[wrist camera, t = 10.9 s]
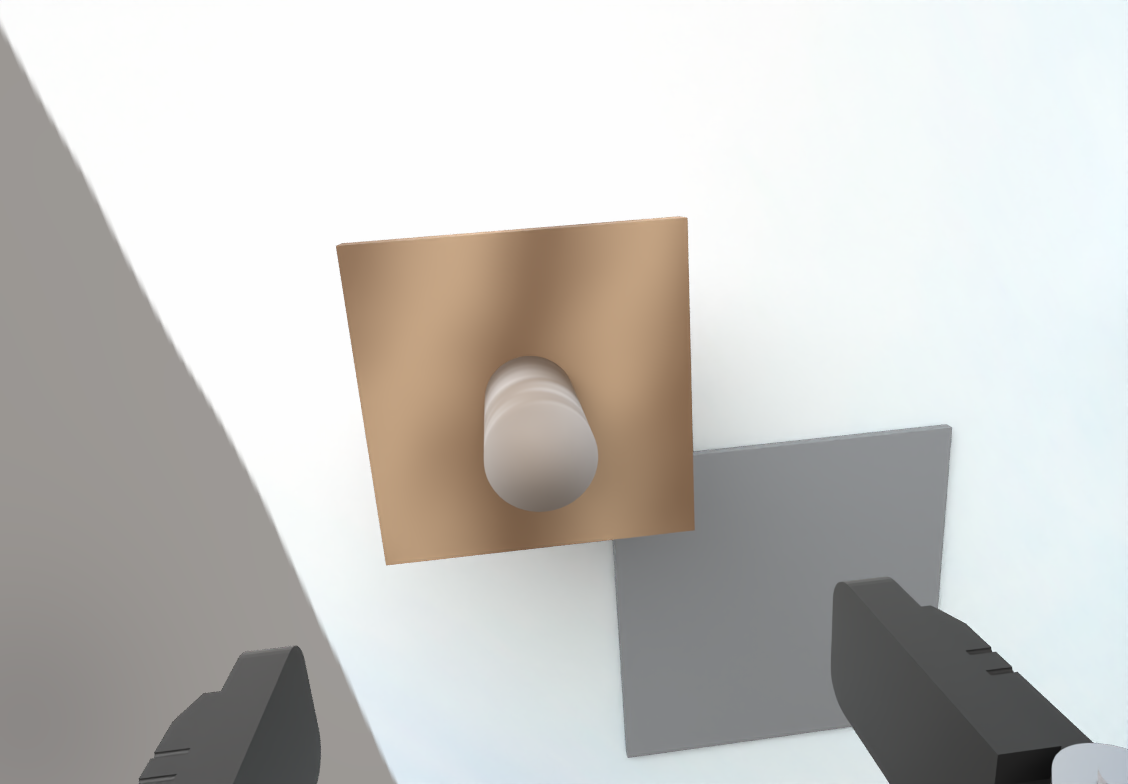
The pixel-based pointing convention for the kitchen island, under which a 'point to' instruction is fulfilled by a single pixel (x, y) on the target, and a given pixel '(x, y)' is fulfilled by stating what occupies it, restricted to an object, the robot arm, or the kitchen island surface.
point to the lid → (524, 385)
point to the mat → (770, 582)
